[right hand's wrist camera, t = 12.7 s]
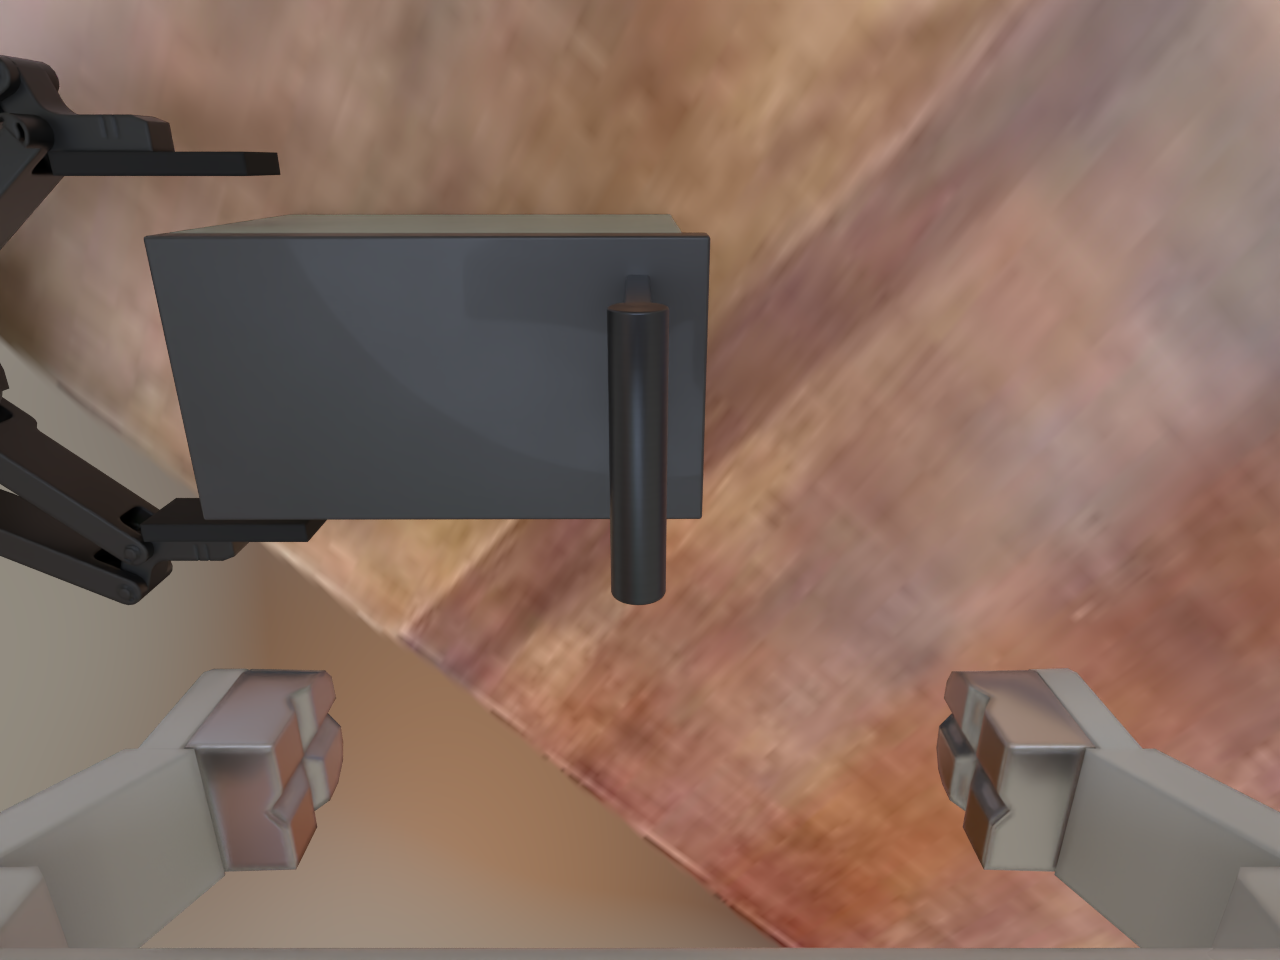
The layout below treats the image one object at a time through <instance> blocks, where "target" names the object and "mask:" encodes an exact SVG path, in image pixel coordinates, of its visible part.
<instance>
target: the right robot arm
mask: <svg viewBox="0 0 1280 960" xmlns="http://www.w3.org/2000/svg"><path fill="white" fill-rule="evenodd" d="M335 699H336V695H335V690H334V685H333V681H332V677H331V676H330V675H329V674H328V673H327V672H326V671H325V670H279V669H251V670H248V669H212V670H209V671H206V672H204V673H203V674H202V675H201V676H200V677H199V678H198V679H197V681H196V682H195V683H194V684H193V685H192V686H191V687H190V689H189V690H188V691H187V692H186V693H185V694H184V696H183V697H182V698H181V699H180V700H179V701H178V702H177V704H176V705H175V706H174V707H173V708H172V709H171V711H170V712H169V713H168V714H167V715H166V716H165V717H164V719H163V720H162V721H161V722H160V723H159V724H158V726H157V727H156V728H155V729H154V730H153V731H152V732H151V734H150V735H149V736H148V737H147V738H146V739H145V741H144V742H143V743H142V744H141V745H140V746H139V748H138V749H124V750H122V751H120V752H118V753H116V754H114V755H112V756H110V757H108V758H106V759H104V760H102V761H100V762H98V763H96V764H94V765H92V766H90V767H88V768H86V769H84V770H82V771H80V772H78V773H76V774H74V775H72V776H70V777H68V778H67V779H65V780H62V781H61V782H59V783H57V784H55V785H53V786H51V787H49V788H47V789H45V790H43V791H41V792H39V793H37V794H35V795H33V796H31V797H29V798H27V799H25V800H23V801H21V802H19V803H17V804H15V805H13V806H11V807H9V808H7V809H5V810H3V811H1V812H0V960H1280V812H1278V811H1276V810H1274V809H1272V808H1270V807H1268V806H1266V805H1264V804H1262V803H1261V802H1259V801H1257V800H1255V799H1253V798H1251V797H1249V796H1247V795H1245V794H1243V793H1241V792H1239V791H1237V790H1235V789H1233V788H1231V787H1229V786H1227V785H1225V784H1223V783H1221V782H1219V781H1217V780H1215V779H1213V778H1211V777H1209V776H1208V775H1206V774H1204V773H1202V772H1200V771H1198V770H1196V769H1194V768H1192V767H1190V766H1188V765H1186V764H1184V763H1182V762H1180V761H1178V760H1176V759H1174V758H1172V757H1170V756H1168V755H1166V754H1164V753H1162V752H1160V751H1158V750H1156V749H1142V748H1141V746H1140V745H1139V744H1138V743H1137V742H1136V741H1135V739H1134V738H1133V737H1132V736H1131V735H1130V734H1129V732H1128V731H1127V730H1126V729H1125V728H1124V727H1123V726H1122V724H1121V723H1120V722H1119V721H1118V720H1117V719H1116V717H1115V716H1114V715H1113V714H1112V713H1111V712H1110V711H1109V709H1108V708H1107V707H1106V706H1105V705H1104V704H1103V702H1102V701H1101V700H1100V699H1099V698H1098V697H1097V696H1096V694H1095V693H1094V692H1093V691H1092V690H1091V689H1090V687H1089V686H1088V685H1087V684H1086V683H1085V682H1084V680H1083V679H1082V678H1081V677H1080V676H1079V675H1078V674H1077V673H1076V672H1074V671H1072V670H1070V669H1068V668H1059V669H1029V670H1016V671H952V672H951V674H950V676H949V678H948V680H947V684H946V689H945V695H944V699H945V701H946V703H947V704H948V706H949V708H950V710H951V712H952V714H951V715H950V716H949V717H948V718H947V719H946V720H945V721H944V722H943V723H942V724H941V725H940V726H939V732H938V740H937V759H938V770H939V773H940V777H941V780H942V784H943V786H944V789H945V791H946V793H947V795H948V797H949V799H950V801H952V802H953V803H955V804H956V805H957V806H959V807H960V808H962V809H963V810H964V811H966V812H965V817H964V823H963V828H964V830H965V832H966V834H967V836H968V838H969V840H970V842H971V844H972V846H973V849H974V851H975V853H976V855H977V857H978V859H979V861H980V863H981V865H982V867H983V869H984V870H1019V871H1055V876H1057V877H1058V878H1059V879H1060V880H1061V881H1062V882H1064V883H1065V884H1066V885H1067V886H1068V887H1070V888H1071V889H1072V890H1073V891H1074V892H1075V893H1077V894H1078V895H1079V896H1080V897H1081V898H1083V899H1084V900H1085V901H1086V902H1087V903H1088V904H1090V905H1091V906H1092V907H1093V908H1094V909H1096V910H1097V911H1098V912H1099V913H1100V914H1101V915H1103V916H1104V917H1105V918H1106V919H1107V920H1108V921H1110V922H1111V923H1112V924H1113V925H1114V926H1116V927H1117V928H1118V929H1119V930H1120V931H1121V932H1123V933H1124V934H1125V935H1126V936H1127V937H1129V938H1130V939H1131V940H1132V941H1133V942H1134V943H1136V944H1137V945H1138V946H1139V947H1140V948H140V947H141V946H142V945H143V944H145V943H146V942H147V941H148V940H149V939H151V938H152V937H153V936H154V935H155V934H156V933H158V932H159V931H160V930H161V929H162V928H164V927H165V926H166V925H167V924H168V923H169V922H171V921H172V920H173V919H174V918H175V917H177V916H178V915H179V914H180V913H181V912H182V911H184V910H185V909H186V908H187V907H188V906H189V905H191V904H192V903H193V902H194V901H195V900H197V899H198V898H199V897H200V896H201V895H202V894H204V893H205V892H206V891H207V890H208V889H210V888H211V887H212V886H213V885H214V884H216V883H217V882H218V881H219V880H220V879H221V878H223V877H224V876H225V871H259V870H293V869H297V867H298V865H299V863H300V861H301V859H302V857H303V855H304V853H305V851H306V849H307V846H308V844H309V842H310V840H311V838H312V836H313V834H314V832H315V830H316V828H317V823H316V818H315V812H314V811H315V810H317V809H318V808H320V807H321V806H323V805H324V804H325V803H327V802H328V801H330V799H331V797H332V795H333V793H334V791H335V788H336V786H337V784H338V781H339V776H340V772H341V767H342V762H343V738H342V732H341V726H340V725H339V724H338V723H337V722H336V721H335V720H334V719H333V718H332V717H331V716H330V715H329V714H328V712H329V710H330V708H331V706H332V704H333V703H334V701H335Z"/></svg>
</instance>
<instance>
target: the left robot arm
mask: <svg viewBox="0 0 1280 960" xmlns="http://www.w3.org/2000/svg"><path fill="white" fill-rule="evenodd" d="M58 89H59V80H58V77H57V75H56V73H55V71H54V70H53V69H52V68H51V67H50V66H49V65H47V64H45V63H43V62H38V61H32V60H28V59H22V58H16V57H10V56H4V55H0V250H1V248H2V247H3V246H4V245H5V244H6V243H7V242H8V240H9V239H10V238H11V237H12V236H13V235H14V233H15V232H16V231H17V230H18V229H19V228H20V226H21V225H22V224H23V223H24V222H25V221H26V220H27V218H28V217H29V216H30V215H31V214H32V213H33V211H34V210H35V209H36V208H37V207H38V206H39V204H40V203H41V202H42V201H43V200H44V199H45V198H46V196H47V195H48V194H49V193H50V192H51V191H52V189H53V188H54V187H55V186H56V185H57V184H58V182H59V181H60V180H61V179H62V178H63V177H64V176H259V175H280V169H279V162H278V156H277V153H270V152H175V150H174V145H173V140H172V135H171V130H170V125H169V123H168V122H165V121H163V120H160V119H158V118H155V117H150V116H139V115H78V114H76V113H74V112H73V111H71V110H70V109H69V108H68V107H67V106H66V105H65V104H64V102H63V101H62V99H61V97H60V95H59V94H58ZM6 389H9V386H8V382H7V379H6V376H5V372H4V369H3V368H2V366H1V364H0V484H1V485H3V486H4V487H6V488H8V489H9V490H11V491H12V492H14V493H16V494H17V495H19V496H17V495H15V494H13V493H10V492H7V491H4V490H1V489H0V556H2V557H5V558H7V559H10V560H12V561H15V562H18V563H20V564H23V565H25V566H28V567H30V568H33V569H36V570H38V571H41V572H43V573H46V574H48V575H51V576H53V577H56V578H58V579H61V580H63V581H66V582H69V583H71V584H74V585H76V586H79V587H81V588H84V589H86V590H89V591H92V592H94V593H97V594H99V595H102V596H104V597H107V598H109V599H112V600H115V601H117V602H120V603H122V604H126V605H133V604H136V603H137V602H139V601H140V600H141V599H142V598H143V597H144V596H146V595H147V594H148V593H149V592H150V591H151V590H152V589H154V588H155V587H156V586H157V585H158V584H159V583H160V582H161V581H163V580H164V579H165V578H166V577H167V576H168V575H170V573H171V572H172V563H171V561H198V560H200V561H208V560H210V561H223V560H226V559H229V558H231V557H234V556H235V555H236V554H237V553H238V552H239V551H240V550H241V549H242V548H243V547H245V546H246V545H247V544H248V543H249V542H308V541H309V540H310V539H311V538H312V536H313V535H314V534H315V533H316V532H317V531H318V530H319V528H320V527H321V526H322V525H323V524H324V523H325V522H326V520H327V519H293V520H206V519H204V516H203V511H202V507H201V502H200V498H176V499H174V500H173V501H172V502H170V503H169V504H167V505H166V506H165V507H163V508H162V509H161V510H159V509H158V508H156V507H154V506H153V505H151V504H150V503H148V502H147V501H145V500H144V499H142V498H141V497H139V496H138V495H136V494H135V493H133V492H132V491H130V490H129V489H127V488H126V487H124V486H122V485H121V484H119V483H118V482H116V481H115V480H113V479H112V478H110V477H109V476H107V475H106V474H104V473H103V472H101V471H100V470H98V469H97V468H95V467H94V466H92V465H90V464H89V463H87V462H86V461H84V460H83V459H81V458H80V457H78V456H77V455H75V454H74V453H72V452H71V451H69V450H68V449H66V448H65V447H63V446H61V445H60V444H59V443H57V442H55V441H54V440H52V439H51V438H49V437H48V436H46V435H45V434H43V433H42V432H40V431H39V430H38V429H37V422H36V420H35V419H34V418H33V417H31V416H30V415H28V414H27V413H25V412H24V411H22V410H21V409H19V408H18V407H16V406H15V405H13V404H12V403H10V402H9V401H7V400H6V399H4V398H3V397H2V391H3V390H6Z"/></svg>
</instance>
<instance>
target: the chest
mask: <svg viewBox="0 0 1280 960" xmlns="http://www.w3.org/2000/svg"><path fill="white" fill-rule="evenodd" d="M170 233H682V232H681V231H680V229H679V227H678V226H677V224H676V223H675V221H674V219H673V218H672V216H671V215H670V214H421V215H283V216H277V217H270V218H264V219H257V220H250V221H244V222H237V223H230V224H224V225H217V226H210V227H204V228H197V229H190V230H183V231H177V232H170Z"/></svg>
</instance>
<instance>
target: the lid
mask: <svg viewBox="0 0 1280 960" xmlns="http://www.w3.org/2000/svg"><path fill="white" fill-rule="evenodd" d="M144 243H145V247H146V252H147V256H148V261H149V266H150V270H151V275H152V280H153V284H154V289H155V294H156V298H157V303H158V307H159V312H160V317H161V321H162V326H163V331H164V335H165V340H166V345H167V349H168V354H169V358H170V363H171V368H172V372H173V377H174V382H175V386H176V391H177V395H178V400H179V405H180V409H181V414H182V419H183V423H184V428H185V433H186V437H187V442H188V446H189V451H190V456H191V460H192V465H193V470H194V474H195V479H196V484H197V488H198V493H199V497H200V502H201V507H202V511H203V516H204V519H206V520H293V519H610V541H611V592H612V595H613V596H614V598H616V599H617V600H618V601H620V602H623V603H626V604H631V605H646V604H651V603H654V602H656V601H658V600H660V599H661V598H662V597H663V596H664V594H665V591H666V519H700V518H701V517H702V496H703V463H704V429H705V396H706V363H707V330H708V296H709V263H710V237H709V236H708V235H707V234H706V233H163V234H157V235H150V236H146V237H144Z"/></svg>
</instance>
